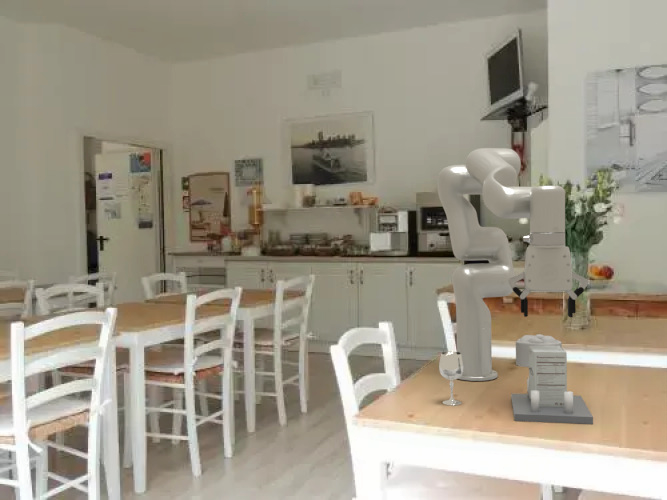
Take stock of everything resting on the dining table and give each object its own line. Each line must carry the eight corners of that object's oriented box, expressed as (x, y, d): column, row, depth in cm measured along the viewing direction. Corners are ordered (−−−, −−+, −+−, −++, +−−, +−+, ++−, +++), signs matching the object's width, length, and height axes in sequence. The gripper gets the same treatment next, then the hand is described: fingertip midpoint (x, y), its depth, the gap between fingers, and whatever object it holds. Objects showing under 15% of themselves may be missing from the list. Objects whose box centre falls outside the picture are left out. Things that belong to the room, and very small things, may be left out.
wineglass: (465, 400, 162) (465, 351, 162) (462, 406, 157) (461, 356, 157) (441, 399, 164) (441, 350, 164) (437, 405, 159) (437, 354, 158)
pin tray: (514, 420, 145) (514, 393, 145) (511, 399, 162) (510, 375, 162) (593, 424, 141) (592, 396, 141) (580, 401, 159) (580, 377, 159)
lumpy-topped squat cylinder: (520, 359, 210) (519, 332, 209) (563, 362, 204) (563, 334, 204) (514, 366, 200) (514, 337, 200) (559, 369, 195) (559, 340, 195)
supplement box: (528, 398, 157) (527, 345, 157) (561, 399, 156) (560, 345, 156) (533, 407, 150) (532, 351, 149) (567, 407, 149) (567, 351, 148)
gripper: (508, 241, 149) (508, 318, 150) (590, 240, 145) (590, 319, 146) (507, 240, 156) (507, 313, 157) (585, 239, 152) (585, 314, 153)
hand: (547, 316), depth 151 cm, fingers open, 9 cm apart
